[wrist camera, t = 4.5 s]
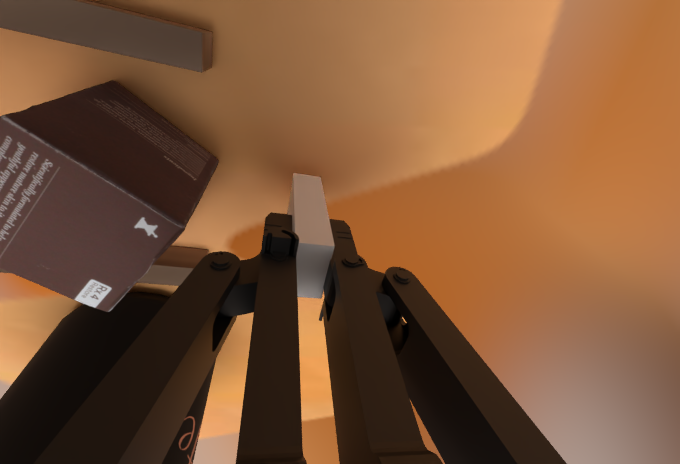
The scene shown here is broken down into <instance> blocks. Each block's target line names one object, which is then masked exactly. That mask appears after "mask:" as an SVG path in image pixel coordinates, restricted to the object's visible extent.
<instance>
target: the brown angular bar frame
mask: <svg viewBox="0 0 680 464" xmlns="http://www.w3.org/2000/svg"><path fill="white" fill-rule="evenodd" d="M0 28H4V29H9V30H13V31H18V32H22V33H27V34H31V35H36V36H40V37H45V38H49V39H54V40H58V41H63V42H67V43H72V44H76V45H81V46H85V47H90V48H94V49H99V50H103V51H108V52H112V53H117V54H121V55H126V56H130V57H135V58H139V59H144V60H148V61H153V62H157V63H161V64H166V65H170V66H175V67H179V68H184V69H188V70H193V71H197V72H204V71H206V70H208V69H210V68H212V32H211V31H207V30H203V29H199V28H195V27H191V26H187V25H183V24H179V23H175V22H171V21H167V20H163V19H159V18H155V17H151V16H147V15H143V14H139V13H136V12H132V11H128V10H124V9H120V8H116V7H112V6H108V5H104V4H100V3H96V2H92V1H88V0H0ZM207 254H208V250H205V249H195V248H186V247H176V246H170V247H169V248H168V249H167V250H166V251H165V252H164V253H163V254H162V255H161V256H160V257H159V258H158V259H157V260H156V262H155V263H154V264H153V265H152V266H151V267H150V269H149V270H148V272H147V273H146V274H145V275H144V276H143V277H142V278H141V279H140V280H138V281H137V283H149V284H162V285H175V286H180V285H181V284H182V282H183V281H184V280H185V279H186V278H187V276H188V275H189V274H190V273H191V271H192V270H193V269H194V268H195V267H196V265H197V264H198V263H199V262H200V261H201V259H202V258H203V257H205V256H206V255H207ZM0 272H3V273H10V272H8V271H6V270H3V269H1V268H0Z"/></svg>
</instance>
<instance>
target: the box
mask: <svg viewBox="0 0 680 464" xmlns="http://www.w3.org/2000/svg"><path fill="white" fill-rule="evenodd" d="M218 163H219V161H218V159H217V158H216V157H214V156H213V155H211V154H210V153H209V152H207V151H206V150H205V149H204V148H202V147H201V146H200V145H199V144H197V143H196V142H194V141H193V140H192V139H191V138H189V137H188V136H186V135H185V134H184V133H183V132H181V131H180V130H179V129H177V128H176V127H175V126H173V125H172V124H171V123H169V122H168V121H167V120H166V119H164V118H163V117H162V116H160V115H159V114H158V113H156V112H155V111H154V110H152V109H151V108H150V107H148V106H147V105H146V104H145V103H143V102H142V101H140V100H139V99H138V98H137V97H135V96H134V95H133V94H131V93H130V92H129V91H127V90H126V89H125V88H123V87H122V86H121V85H120V84H118V83H117V82H116V81H113V80H112V81H109V82H106V83H104V84H100V85H97V86H94V87H91V88H88V89H84V90H82V91H78V92H75V93H72V94H69V95H66V96H64V97H61V98H58V99H55V100H52V101H49V102H45V103H42V104H39V105H35V106H31V107H30V108H28V109H26V110H23V111H20V112H16V113H10V114H6V115H2V116H0V268H1V269H3V270H6V271H8V272H10V273H13V274H15V275H17V276H20V277H22V278H25V279H27V280H30V281H32V282H34V283H37V284H39V285H41V286H43V287H46V288H48V289H50V290H53V291H55V292H57V293H60V294H62V295H64V296H67V297H69V298H71V299H74V300H76V301H78V302H80V303H83V304H86V305H89V306H91V307H94V308H97V309H100V310H103V311H106V312H109V311H111V310H112V309H113V308H114V307H115V305H117V303H118V302H119V301H120V300H121V299H122V298H123V297H124V296H125V295H126V294H127V292H128V291H129V290H130V289H131V288H132V287H133V286H134V285H135V284H136V283H137V281H138V280H140V279H141V278H142V277H143V276H144V275H145V274H146V273H147V272H148V270H149V269H150V267H151V266H152V265H153V264H154V263H155V262H156V260H157V259H158V258H159V257H160V256H161V255H162V254H163V253H164V252H165V251H166V250H167V249H168V248H169V247H170V245H171V244H172V243H173V242H174V241H175V240H176V239H177V238H178V237H179V236H180V235H181V233H182V232H183V231H184V230H185V227H186V225H187V223H188V221H189V219H190V217H191V216H192V214H193V212H194V210H195V208H196V206H197V204H198V203H199V200H200V199H201V197H202V195H203V193H204V191H205V189H206V187H207V185H208V183H209V181H210V179H211V177H212V175H213V173H214V171H215V169H216V167H217V166H218Z"/></svg>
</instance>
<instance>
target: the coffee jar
mask: <svg viewBox="0 0 680 464" xmlns="http://www.w3.org/2000/svg"><path fill="white" fill-rule="evenodd" d="M168 299H169V297H166V296H163V295H157V294H151V293H144V292H129V293H127V294H126V295H125V296H124V297H123V298H122V299H121V300H120V301H119V302H118V303H117V305H115V307H114V308H113V309H112V310H111V311H109V312H106V311H103V310H100V309H97V308H94V307H91V306H89V305H86V304H83V305H82V306H80V307H78V308H77V309H76V310H74V311H73V312H72V313H70V314H69V315H67V316H66V317H65V318H63V319H62V321H61V322H60V323H59V324H58V326H57V327H56V328H55V330H54V331H53V332H52V333H51V335H50V336H49V337H48V339H47V340H46V341H45V342H44V344H43V345H42V346H41V348H40V349H39V350H38V352H37V353H36V354H35V355H34V357H33V358H32V359H31V361H30V362H29V363H28V364H27V366H26V367H25V368H24V370H23V371H22V372H21V373H20V375H19V376H18V377H17V379H16V380H15V381H14V382H13V384H12V385H11V386H10V388H9V389H8V390H7V391H6V393H5V394H4V395H3V397H2V398H1V399H0V464H34V462H35V461H36V460H37V459H38V457H39V456H40V455H41V454H42V453H43V451H44V450H45V449H46V448H47V447H48V445H49V444H50V443H51V442H52V440H53V439H54V438H55V437H56V436H57V434H58V433H59V432H60V431H61V429H62V428H63V427H64V426H65V425H66V423H67V422H68V421H69V420H70V419H71V417H72V416H73V415H74V414H75V412H76V411H77V410H78V409H79V408H80V406H81V405H82V404H83V403H84V402H85V400H86V399H87V398H88V397H89V395H90V394H91V393H92V392H93V391H94V389H95V388H96V387H97V386H98V385H99V383H100V382H101V381H102V380H103V378H104V377H105V376H106V375H107V374H108V372H109V371H110V370H111V369H112V367H113V366H114V365H115V364H116V363H117V361H118V360H119V359H120V358H121V357H122V355H123V354H124V353H125V352H126V350H127V349H128V348H129V347H130V346H131V344H132V343H133V342H134V341H135V340H136V338H137V337H138V336H139V335H140V333H141V332H142V331H143V330H144V329H145V327H146V326H147V325H148V324H149V323H150V321H151V320H152V319H153V318H154V316H155V315H156V314H157V313H158V312H159V310H160V309H161V308H162V307H163V305H164V304H165V303H166V302H167V301H168ZM215 361H216V359H215ZM215 361H214V363H213V365H212V367H211V369H210V371H209V373H208V375H207V376H206V378H205V380H204V382H203V384H202V386H201V388H200V390H199V392H198V394H197V396H196V398H195V400H194V402H193V404H192V406H191V408H190V409H189V411H188V413H187V415H186V417H185V419H184V421H183V423H182V425H181V427H180V429H179V431H178V433H177V435H176V437H175V439H174V441H173V442H172V444H171V446H170V448H169V450H168V452H167V454H166V456H165V458H164V460H163V462H162V464H193V460H194V455H195V450H196V446H197V442H198V437H199V433H200V428H201V424H202V419H203V415H204V410H205V406H206V401H207V397H208V392H209V388H210V383H211V379H212V374H213V370H214V365H215Z"/></svg>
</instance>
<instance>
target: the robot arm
mask: <svg viewBox="0 0 680 464" xmlns="http://www.w3.org/2000/svg"><path fill="white" fill-rule="evenodd" d="M323 290H324V295H325V298H324V302H323V305H322V309H321V313H320V317H319V321H322V317H323V318H324V327H325V336H326V345H327V354H328V363H329V372H330V381H331V390H332V399H333V407H334V416H335V425H336V434H337V443H338V452H339V461H340V464H443V463H442V462H441V460H440V459H439V457H438V456H437V455H436V454H435V453H433V452H431V451H429V450H427V448H426V447H425V445H424V443H423V440H422V437H421V434H420V431H419V428H418V425H417V421H416V418H415V415H414V412H413V409H412V405H411V402H412V404H413V406H414V407H415V409H416V411H417V413H418V415H419V416H420V418H421V420H422V422H423V424H424V426H425V427H426V429H427V431H428V433H429V435H430V436H431V438H432V440H433V442H434V444H435V446H436V448H437V449H438V451H439V453H440V455H441V457H442V458H443V460H444V462H445V464H566V462H565V461H564V460H563V459H562V457H561V456H560V455H559V454H558V452H557V451H556V450H555V449H554V447H553V446H552V445H551V444H550V442H549V441H548V440H547V439H546V438H545V436H544V435H543V434H542V433H541V432H540V430H539V429H538V428H537V426H536V425H535V424H534V423H533V421H532V420H531V419H530V418H529V416H527V414H526V413H525V412H524V410H523V409H522V408H521V407H520V405H519V404H518V403H517V402H516V400H515V399H514V398H513V397H512V395H511V394H510V393H509V392H508V390H507V389H506V388H505V387H504V386H503V384H502V383H501V382H500V381H499V379H498V378H497V377H496V376H495V374H494V373H493V372H492V371H491V369H490V368H489V367H488V366H487V364H486V363H485V362H484V361H483V359H482V358H481V357H480V356H479V355H478V353H477V352H476V351H475V350H474V348H473V347H472V346H471V345H470V343H469V342H468V341H467V340H466V338H465V337H464V336H463V335H462V333H461V332H460V331H459V330H458V329H457V327H456V326H455V325H454V324H453V322H452V321H451V320H450V319H449V317H448V316H447V315H446V314H445V312H444V311H443V310H442V309H441V307H440V306H439V305H438V304H437V303H436V302H435V300H434V299H433V298H432V296H431V295H430V294H429V293H428V292H427V290H426V289H425V288H424V286H423V285H422V284H421V283H420V281H419V280H418V279H417V278H416V277H415V275H413V274H412V273H411V272H410V271H408V270H406V269H404V268H400V267H391V268H388V269H387V270H386V272H385V274H384V273H381V272H378V271H374V270H372V269H369V268H368V266H367V263H366V262H365V260H364V259H363V258H362V257H360V256H359V255H358V254H357V251H356V247H355V244H354V241H353V237H352V234H351V230H350V227H349V226H348V225H347V224H346V223H345V222H344V221H341V220H333V219H329V216H328V211H327V206H326V201H325V196H324V191H323V186H322V181H321V177H318V176H311V175H305V174H298V173H293V179H292V186H291V192H290V199H289V206H288V212H287V214H279V213H270V214H269V215H268V216H267V217H266V219H265V227H264V235H263V241H262V250H261V252H260V254H259V255H257V256H256V257H254V258H251V259H247V260H241V261H240V259H239V258H238V257H237V256H236V255H234V254H232V253H229V252H222V251H220V252H213V253H210V254H207V255H206V256H205V257H203V258H202V259H201V261H200V262H199V263H198V264H197V265H196V267H195V268H194V269H193V270H192V271H191V273H190V274H189V275H188V276H187V278H186V279H185V280H184V281H183V282H182V284H181V285H180V286H179V287H178V288H177V290H176V291H175V292H174V293H173V295H172V296H171V297H170V298H169V299H168V301H167V302H166V303H165V304H164V305H163V307H162V308H161V309H160V310H159V312H158V313H157V314H156V315H155V316H154V318H153V319H152V320H151V321H150V323H149V324H148V325H147V326H146V327H145V329H144V330H143V331H142V332H141V333H140V335H139V336H138V337H137V338H136V340H135V341H134V342H133V343H132V344H131V346H130V347H129V348H128V349H127V350H126V352H125V353H124V354H123V355H122V357H121V358H120V359H119V360H118V361H117V363H116V364H115V365H114V366H113V367H112V369H111V370H110V371H109V372H108V374H107V375H106V376H105V377H104V378H103V380H102V381H101V382H100V383H99V385H98V386H97V387H96V388H95V389H94V391H93V392H92V393H91V394H90V395H89V397H88V398H87V399H86V400H85V402H84V403H83V404H82V405H81V406H80V408H79V409H78V410H77V411H76V412H75V414H74V415H73V416H72V417H71V419H70V420H69V421H68V422H67V423H66V425H65V426H64V427H63V428H62V429H61V431H60V432H59V433H58V434H57V436H56V437H55V438H54V439H53V440H52V442H51V443H50V444H49V445H48V447H47V448H46V449H45V450H44V451H43V453H42V454H41V455H40V456H39V457H38V459H37V460H36V461H35V462H34V464H162V462H163V460H164V458H165V456H166V454H167V452H168V450H169V448H170V446H171V444H172V442H173V441H174V439H175V437H176V435H177V433H178V431H179V429H180V427H181V425H182V423H183V421H184V419H185V417H186V415H187V413H188V411H189V409H190V408H191V406H192V404H193V402H194V400H195V398H196V396H197V394H198V392H199V390H200V388H201V386H202V384H203V382H204V380H205V378H206V376H207V375H208V373H209V371H210V369H211V367H212V365H213V363H214V361H215V359H216V357H217V355H218V353H219V351H220V349H221V347H222V345H223V343H224V342H225V340H226V338H227V336H228V334H229V332H230V330H231V328H232V326H233V324H234V322H235V320H236V317H237V315H242V314H247V313H252V312H254V317H253V325H252V333H251V342H250V350H249V358H248V367H247V375H246V383H245V392H244V400H243V408H242V417H241V425H240V433H239V442H238V450H237V458H236V464H307V463H306V460H305V458H304V457H303V451H302V427H301V426H302V424H301V393H300V362H299V330H298V299H297V297H308V298H322V294H323ZM402 317H403V318H404V319H405V321H406V322H407V323H405V322H404V321H403V319H402ZM409 398H410V399H409ZM410 400H411V402H410Z"/></svg>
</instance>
